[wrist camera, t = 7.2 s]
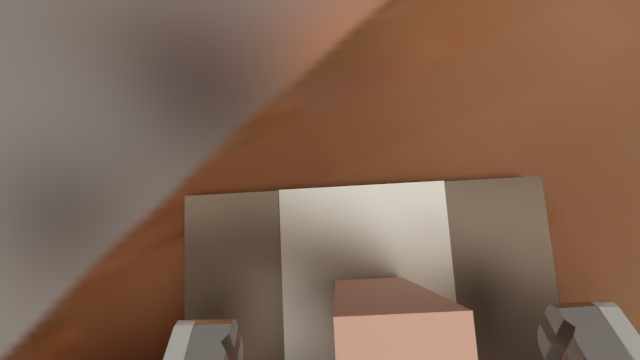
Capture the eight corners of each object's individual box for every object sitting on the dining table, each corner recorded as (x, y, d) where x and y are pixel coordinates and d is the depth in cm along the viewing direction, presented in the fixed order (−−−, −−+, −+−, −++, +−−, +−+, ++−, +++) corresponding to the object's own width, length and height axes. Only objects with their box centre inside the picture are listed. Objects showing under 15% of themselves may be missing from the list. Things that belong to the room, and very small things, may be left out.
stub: (407, 363, 14) (493, 505, 6) (339, 366, 14) (344, 510, 7) (400, 276, 15) (472, 310, 7) (335, 279, 15) (333, 317, 7)
